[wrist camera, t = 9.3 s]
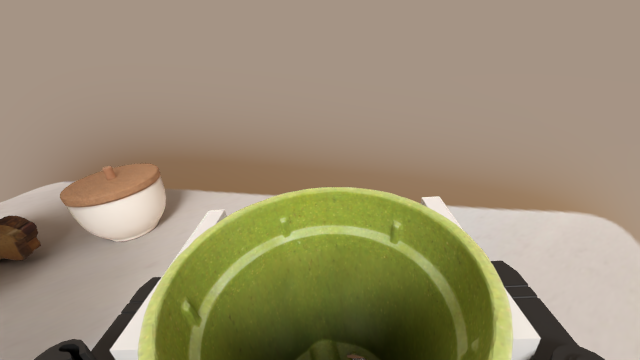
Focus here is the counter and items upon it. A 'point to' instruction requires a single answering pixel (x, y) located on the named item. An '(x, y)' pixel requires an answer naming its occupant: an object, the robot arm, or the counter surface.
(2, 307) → the counter surface
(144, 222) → the lidded jar
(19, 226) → the wooden carving
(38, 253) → the counter surface
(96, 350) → the robot arm
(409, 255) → the plant pot
